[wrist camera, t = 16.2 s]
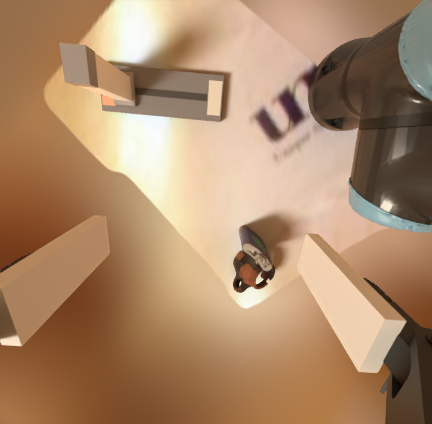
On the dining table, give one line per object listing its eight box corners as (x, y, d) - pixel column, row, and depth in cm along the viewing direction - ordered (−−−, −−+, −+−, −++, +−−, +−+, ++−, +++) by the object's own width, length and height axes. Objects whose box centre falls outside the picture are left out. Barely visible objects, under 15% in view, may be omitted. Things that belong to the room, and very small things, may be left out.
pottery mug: (244, 240, 53) (265, 257, 46) (262, 251, 59) (283, 267, 52) (218, 277, 53) (235, 299, 47) (239, 284, 59) (257, 305, 53)
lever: (134, 73, 38) (87, 38, 25) (136, 106, 40) (93, 90, 26) (113, 71, 38) (54, 35, 24) (116, 104, 40) (63, 87, 26)
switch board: (224, 77, 40) (224, 75, 38) (220, 121, 42) (220, 121, 41) (102, 65, 39) (97, 63, 38) (106, 111, 42) (102, 110, 41)
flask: (236, 230, 51) (240, 252, 41) (245, 222, 50) (251, 243, 40) (259, 252, 53) (269, 279, 43) (268, 245, 53) (280, 271, 43)
